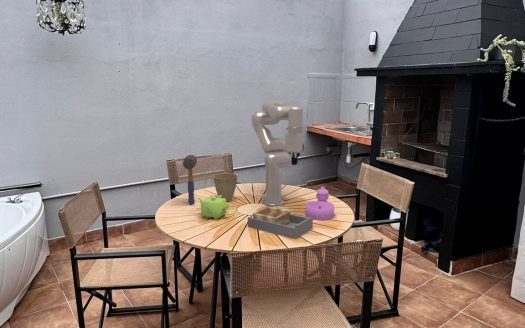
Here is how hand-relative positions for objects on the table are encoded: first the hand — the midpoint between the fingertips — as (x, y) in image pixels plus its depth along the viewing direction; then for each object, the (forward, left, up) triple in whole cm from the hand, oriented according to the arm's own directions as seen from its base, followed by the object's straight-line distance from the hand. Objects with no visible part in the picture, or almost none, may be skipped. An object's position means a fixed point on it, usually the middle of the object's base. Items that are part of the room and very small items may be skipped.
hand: (294, 164), depth 202 cm
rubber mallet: (-62, -16, -29) cm, 70 cm away
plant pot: (-50, +2, -29) cm, 58 cm away
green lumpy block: (-36, -25, -29) cm, 53 cm away
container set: (+10, +13, -30) cm, 34 cm away
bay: (+3, -19, -29) cm, 35 cm away
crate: (-2, -19, -28) cm, 34 cm away
